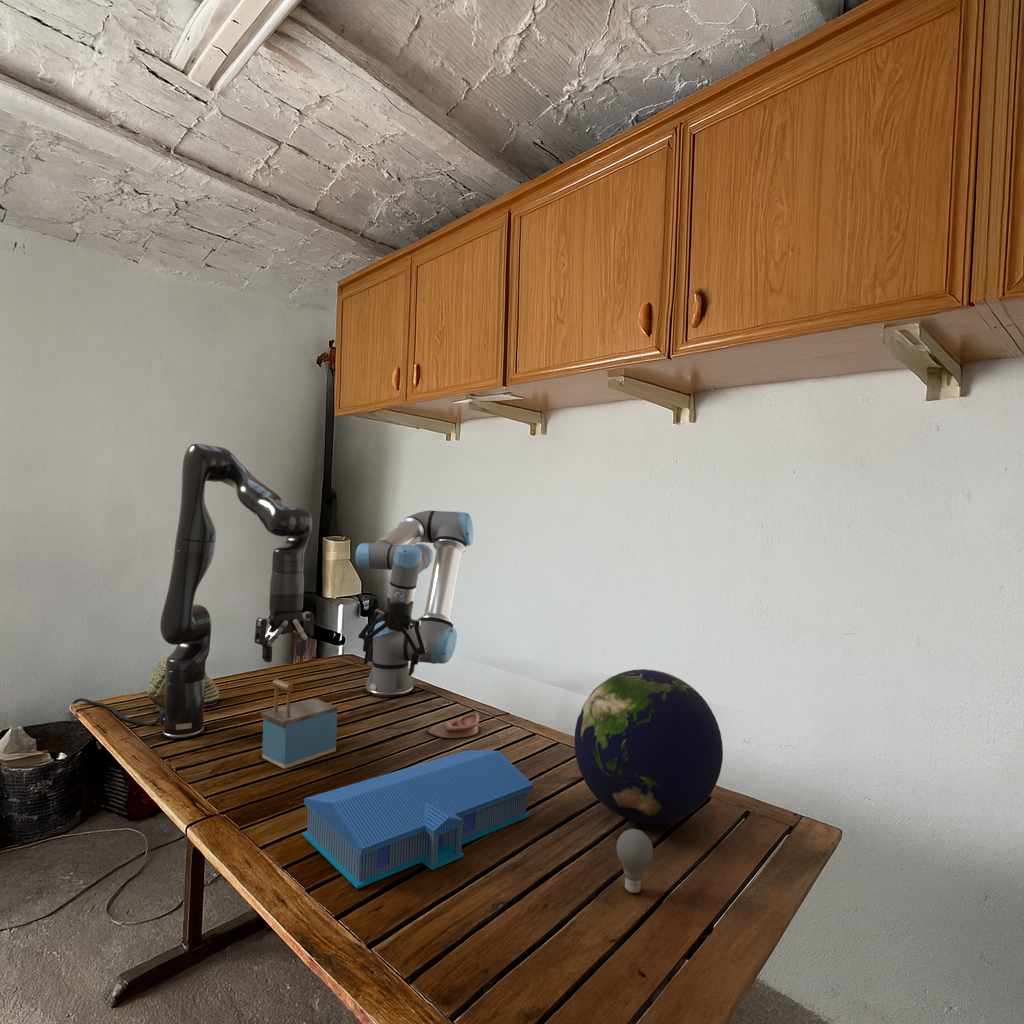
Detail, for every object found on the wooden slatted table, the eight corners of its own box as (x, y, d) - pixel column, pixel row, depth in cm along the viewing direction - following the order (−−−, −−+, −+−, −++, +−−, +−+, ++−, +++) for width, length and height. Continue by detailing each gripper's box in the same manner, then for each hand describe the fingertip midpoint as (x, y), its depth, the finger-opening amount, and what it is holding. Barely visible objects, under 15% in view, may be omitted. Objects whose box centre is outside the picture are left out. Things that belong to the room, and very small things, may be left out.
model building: (367, 898, 100) (369, 836, 100) (301, 833, 119) (303, 781, 118) (541, 822, 127) (543, 772, 127) (465, 778, 145) (467, 735, 145)
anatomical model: (424, 720, 170) (437, 707, 181) (423, 735, 170) (437, 721, 181) (472, 726, 167) (482, 712, 179) (471, 741, 167) (482, 726, 179)
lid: (283, 726, 146) (284, 688, 145) (260, 716, 151) (261, 679, 151) (337, 710, 158) (338, 675, 157) (314, 702, 163) (315, 668, 163)
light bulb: (610, 879, 108) (613, 822, 108) (644, 879, 109) (647, 822, 109) (619, 902, 102) (622, 840, 102) (655, 901, 103) (658, 840, 103)
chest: (284, 768, 146) (286, 725, 146) (261, 757, 152) (263, 716, 152) (336, 750, 158) (337, 710, 158) (313, 740, 164) (314, 702, 163)
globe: (552, 832, 123) (559, 678, 123) (592, 773, 151) (597, 648, 150) (712, 872, 112) (721, 703, 111) (723, 800, 140) (730, 665, 139)
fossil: (144, 707, 182) (145, 655, 182) (212, 696, 194) (213, 647, 194) (151, 716, 175) (153, 662, 175) (221, 703, 188) (223, 653, 188)
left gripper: (268, 595, 142) (265, 667, 142) (321, 589, 153) (319, 656, 154) (250, 591, 147) (247, 660, 147) (303, 586, 158) (301, 651, 158)
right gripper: (353, 592, 177) (343, 662, 181) (439, 613, 175) (426, 683, 178) (364, 585, 185) (353, 652, 189) (445, 605, 182) (433, 673, 186)
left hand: (284, 658), depth 150 cm, fingers open, 8 cm apart
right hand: (388, 668), depth 184 cm, fingers open, 13 cm apart
